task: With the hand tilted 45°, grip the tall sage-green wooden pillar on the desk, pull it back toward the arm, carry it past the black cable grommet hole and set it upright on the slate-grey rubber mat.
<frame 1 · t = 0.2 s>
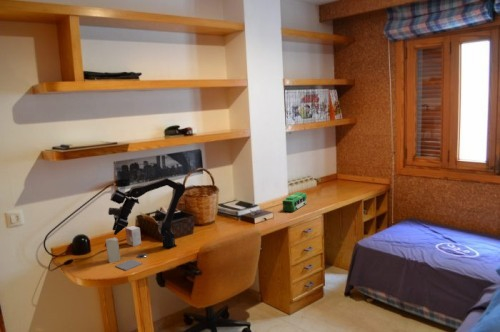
hand: (113, 232, 226), 15 cm above the table, tool tilted 35°, fingers open, 9 cm apart
toy bus: (295, 208, 307), on the table
cable grommet: (142, 256, 227), on the table
sage pillar: (114, 260, 224), on the table
slate mat: (128, 265, 215), on the table
small box: (134, 244, 249), on the table
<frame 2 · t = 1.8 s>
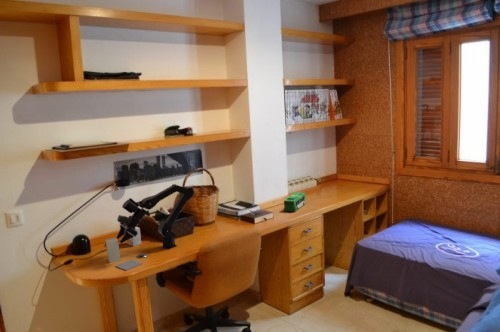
hand: (118, 240, 224), 10 cm above the table, tool tilted 45°, fingers open, 9 cm apart
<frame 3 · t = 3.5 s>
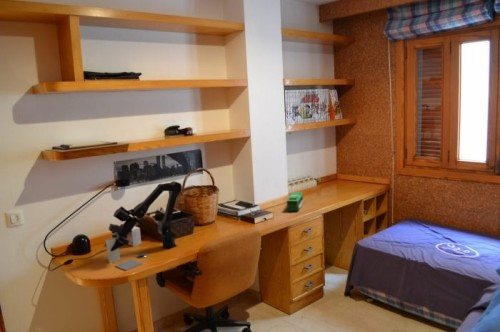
hand: (110, 249, 222), 7 cm above the table, tool tilted 45°, fingers closed on sage pillar, 5 cm apart
sage pillar: (114, 260, 224), on the table, touching gripper
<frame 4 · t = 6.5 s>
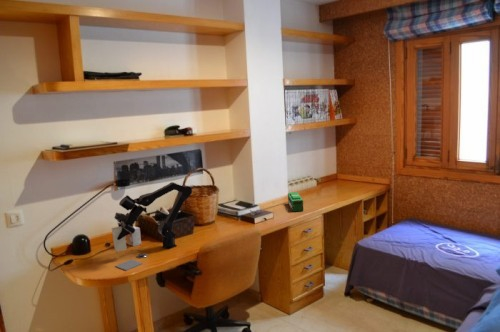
hand: (116, 238, 223), 12 cm above the table, tool tilted 45°, fingers closed on sage pillar, 5 cm apart
sage pillar: (120, 248, 225), point 6 cm above the table, touching gripper
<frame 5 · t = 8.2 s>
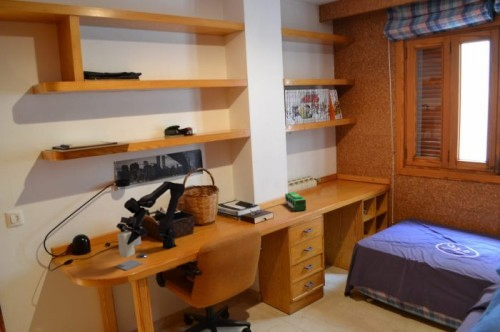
hand: (124, 243, 212), 12 cm above the table, tool tilted 45°, fingers closed on sage pillar, 5 cm apart
sage pillar: (127, 254, 214), point 6 cm above the table, touching gripper
when the fingers open (8 cm above the table, at t = 9.5 s): sage pillar drops 1 cm, resting on slate mat.
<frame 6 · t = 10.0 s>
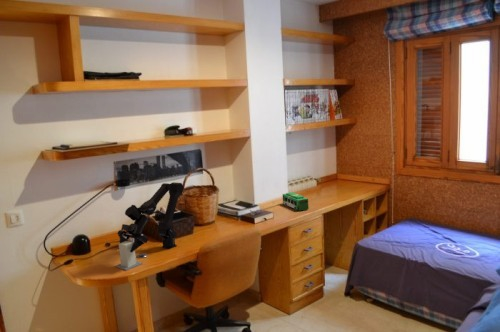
hand: (124, 250, 212), 9 cm above the table, tool tilted 45°, fingers open, 9 cm apart
sage pillar: (128, 264, 215), resting on slate mat
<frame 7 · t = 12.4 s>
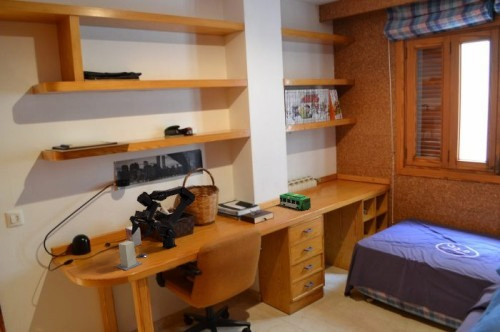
hand: (138, 236, 220), 14 cm above the table, tool tilted 45°, fingers open, 9 cm apart
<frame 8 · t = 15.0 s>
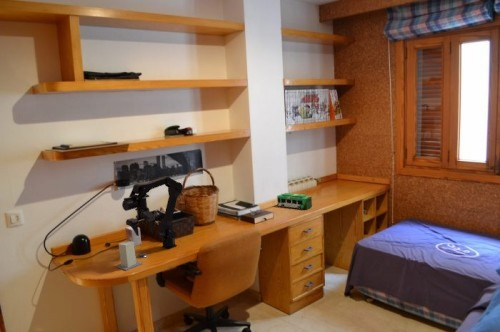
hand: (144, 233, 225), 13 cm above the table, tool pointing down, fingers open, 9 cm apart
at the end: sage pillar inside the target area on the slate mat (0.0 cm from its centre), point 0.5 cm above the slate mat's base; sage pillar tilted 0°; the gripper is holding nothing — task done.
